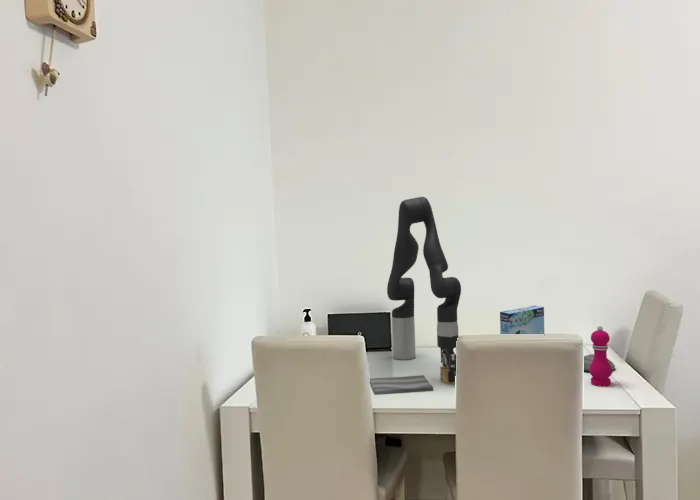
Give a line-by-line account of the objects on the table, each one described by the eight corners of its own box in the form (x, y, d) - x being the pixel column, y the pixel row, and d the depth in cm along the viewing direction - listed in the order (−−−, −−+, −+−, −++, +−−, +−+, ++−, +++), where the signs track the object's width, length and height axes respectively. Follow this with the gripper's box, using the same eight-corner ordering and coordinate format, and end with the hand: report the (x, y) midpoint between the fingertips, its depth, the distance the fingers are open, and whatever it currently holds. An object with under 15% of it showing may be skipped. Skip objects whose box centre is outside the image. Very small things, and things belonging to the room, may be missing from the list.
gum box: (535, 363, 254) (534, 305, 253) (546, 366, 250) (545, 306, 248) (500, 372, 244) (498, 311, 242) (510, 375, 239) (509, 313, 238)
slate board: (369, 381, 238) (369, 378, 237) (423, 378, 239) (423, 375, 239) (375, 394, 222) (374, 391, 222) (433, 390, 223) (433, 387, 223)
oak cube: (440, 380, 236) (440, 366, 236) (454, 379, 237) (453, 365, 236) (443, 384, 231) (443, 370, 231) (457, 383, 232) (457, 369, 232)
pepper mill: (611, 381, 226) (610, 324, 224) (612, 387, 219) (611, 328, 218) (589, 380, 228) (588, 323, 227) (589, 386, 221) (588, 327, 220)
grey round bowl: (574, 373, 239) (573, 359, 238) (570, 363, 253) (570, 349, 253) (618, 374, 235) (617, 359, 235) (611, 364, 250) (611, 350, 249)
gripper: (432, 330, 240) (434, 374, 241) (442, 338, 225) (443, 385, 227) (453, 329, 240) (454, 373, 242) (463, 336, 226) (464, 383, 227)
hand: (449, 379), depth 234 cm, fingers open, 7 cm apart
